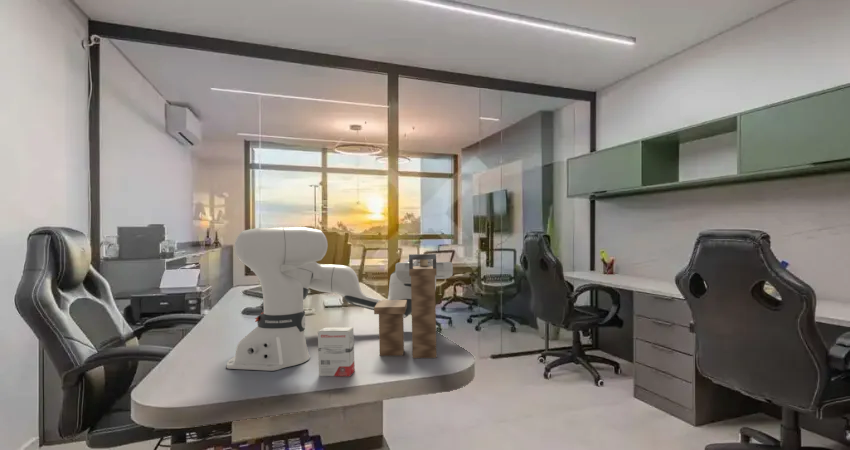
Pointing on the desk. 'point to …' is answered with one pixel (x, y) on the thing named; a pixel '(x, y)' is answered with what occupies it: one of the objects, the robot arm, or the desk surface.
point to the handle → (424, 262)
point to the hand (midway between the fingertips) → (423, 260)
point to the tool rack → (421, 314)
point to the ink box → (336, 351)
